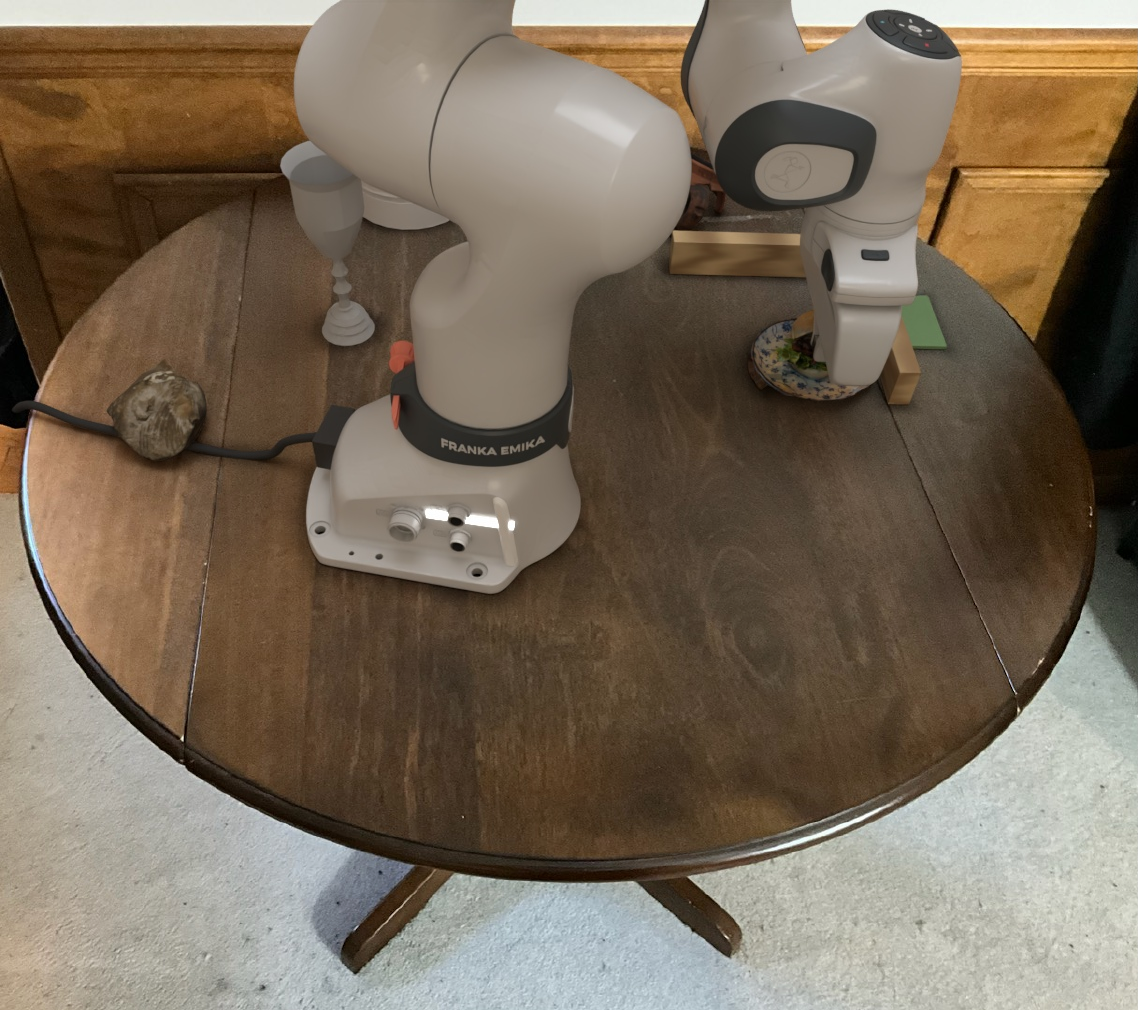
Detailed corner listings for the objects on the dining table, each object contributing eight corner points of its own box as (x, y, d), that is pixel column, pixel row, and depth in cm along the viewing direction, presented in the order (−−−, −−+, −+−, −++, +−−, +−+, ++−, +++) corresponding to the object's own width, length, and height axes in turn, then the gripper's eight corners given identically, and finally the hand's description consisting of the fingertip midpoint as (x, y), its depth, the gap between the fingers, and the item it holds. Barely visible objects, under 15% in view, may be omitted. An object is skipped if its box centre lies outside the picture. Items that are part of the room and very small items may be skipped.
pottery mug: (618, 201, 118) (651, 132, 114) (687, 231, 122) (721, 164, 118) (650, 238, 108) (688, 163, 104) (724, 268, 112) (762, 197, 108)
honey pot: (420, 243, 110) (406, 80, 97) (328, 202, 114) (302, 40, 101) (491, 189, 117) (488, 30, 104) (402, 152, 122) (388, -5, 108)
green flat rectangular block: (895, 348, 102) (896, 345, 102) (879, 297, 107) (880, 294, 107) (946, 349, 102) (947, 346, 102) (927, 298, 107) (928, 295, 107)
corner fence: (684, 400, 96) (690, 367, 93) (668, 262, 110) (672, 230, 107) (909, 404, 97) (921, 372, 94) (864, 267, 110) (874, 235, 107)
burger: (745, 405, 96) (759, 342, 90) (749, 324, 104) (762, 262, 98) (876, 422, 95) (899, 360, 89) (870, 339, 103) (891, 277, 97)
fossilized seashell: (221, 439, 87) (217, 376, 94) (160, 389, 83) (161, 328, 90) (153, 490, 88) (155, 424, 96) (90, 443, 84) (96, 378, 91)
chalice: (362, 360, 98) (337, 192, 84) (298, 342, 99) (263, 173, 86) (397, 315, 102) (379, 148, 89) (335, 298, 104) (308, 131, 90)
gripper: (801, 153, 91) (772, 282, 101) (839, 300, 78) (801, 430, 88) (873, 155, 91) (836, 284, 102) (923, 303, 78) (875, 433, 88)
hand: (820, 353), depth 95 cm, fingers closed
